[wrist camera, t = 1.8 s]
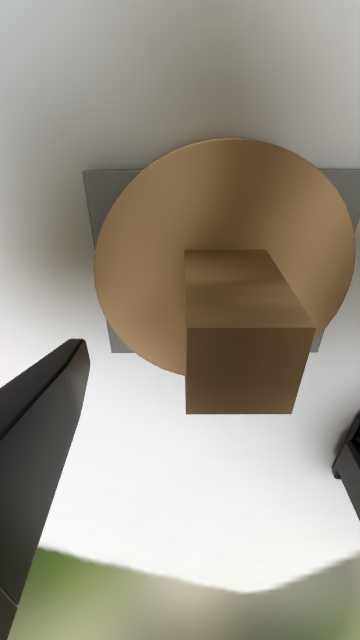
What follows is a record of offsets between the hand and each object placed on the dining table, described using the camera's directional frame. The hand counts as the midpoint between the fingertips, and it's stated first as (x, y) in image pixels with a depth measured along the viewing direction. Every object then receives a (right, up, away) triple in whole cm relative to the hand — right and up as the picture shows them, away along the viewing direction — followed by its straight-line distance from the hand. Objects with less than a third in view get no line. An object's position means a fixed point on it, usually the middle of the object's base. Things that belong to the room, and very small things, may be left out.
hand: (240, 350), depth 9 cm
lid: (0, +3, +4) cm, 5 cm away
